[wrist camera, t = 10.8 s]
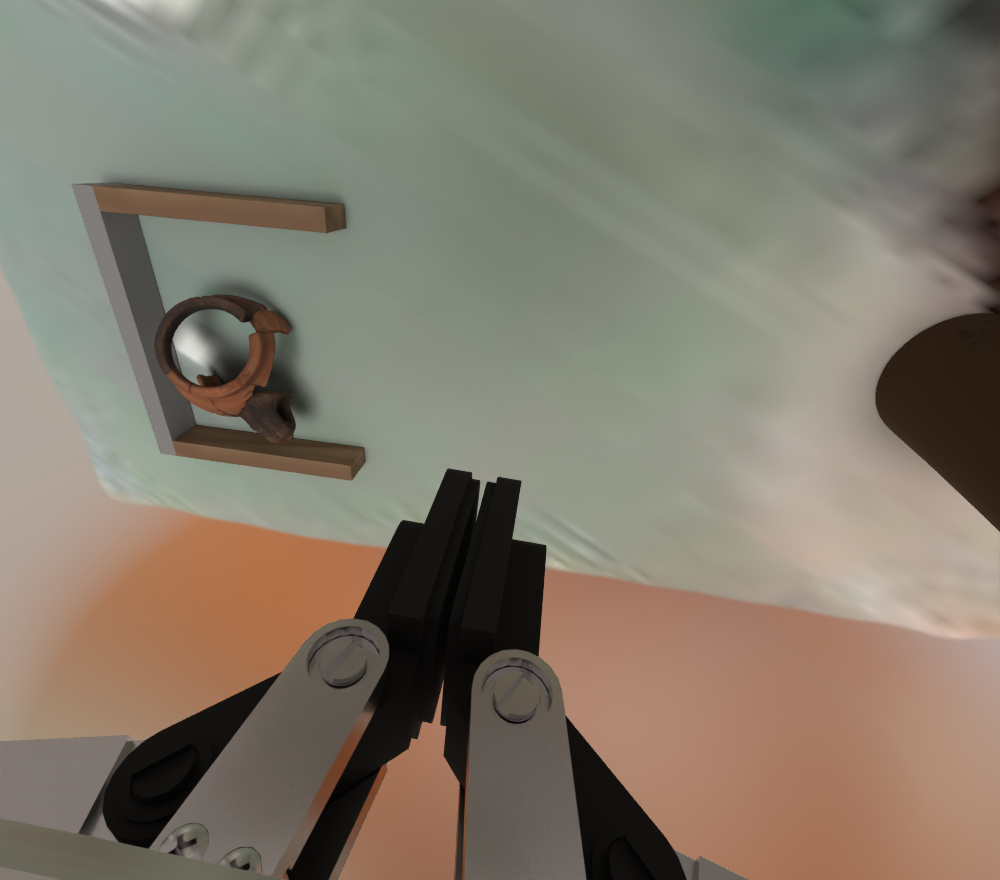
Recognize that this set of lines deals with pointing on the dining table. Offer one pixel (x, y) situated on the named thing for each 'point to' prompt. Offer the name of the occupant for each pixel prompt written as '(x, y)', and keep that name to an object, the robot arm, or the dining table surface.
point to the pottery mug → (236, 397)
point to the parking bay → (141, 313)
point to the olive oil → (951, 405)
